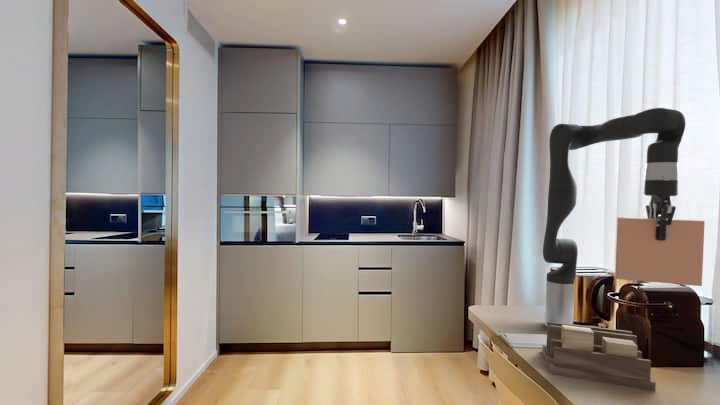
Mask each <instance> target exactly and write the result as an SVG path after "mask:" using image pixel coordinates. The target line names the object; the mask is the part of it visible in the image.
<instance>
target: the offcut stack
mask: <svg viewBox="0 0 720 405" xmlns="http://www.w3.org/2000/svg"><path fill="white" fill-rule="evenodd" d="M593 345H594V332H593V331H592V330H591V329H590V328H585V327H577V326H568V325H562V339H561V348H568V349H575V350H582V351H590V352H593ZM637 351H638V344H637V345H636V344H635V343H634V342H633V341H631V340H623V339H615V338H607V337H602V353H604V354H611V355H618V356H625V357H633V358H637Z"/></svg>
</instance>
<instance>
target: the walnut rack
mask: <svg viewBox="0 0 720 405" xmlns="http://www.w3.org/2000/svg"><path fill="white" fill-rule="evenodd" d="M562 325H568V326H577V327H585V328H590V329H591V330H592V331H593V332H594V345H593V352H590V351H582V350H575V349H568V348H561V339H562ZM546 335H547V346H545V345H542V349H541V352H542V355H543V357H544V360H545V363H546V366H547V369H548V368H549V369H548V371H550V372H549V374H550V373H553V374H552V375H556V374H559V375H558V376H562V375H563V376H564V377H571V378H575V379H581V380H589V381H595V382H601V383H608V384H615V385H619V386H626V387H631V388H637V389H644V390H649V391H656V386H657V385H656V384H657V383H656V381H655V380H654V379H653V378H652V377H651V374H652V373H651V370H652V360H650V359H647V358H646V359H645V358H643V355H642V354H643V352H642V351H640V350H637V358H633V357H625V356H618V355H611V354H604V353H602V337H607V338H615V339H623V340H631V341H633V342H634V343H635V344H636V345H637V346H638V336H637V335H634V334H633V331H630V330H623V329H614V328H607V327H600V326H599V327H597V326H591V325H581V324H575V323H573V324H566V323H558V322H549V321H547V327H546Z"/></svg>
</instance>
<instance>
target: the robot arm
mask: <svg viewBox="0 0 720 405" xmlns="http://www.w3.org/2000/svg"><path fill="white" fill-rule="evenodd" d="M685 130H686V118H685V114H683V113H682V112H681V111H679V110H676V109H671V108H665V107H653V108H650V109H646V110H643V111H641V112H640V111H639V112H637V113H635V114H631V115H625V116H619V117H615V118H612V119H609V120H607V121H604V122H603V123H600V124H594V125H578V124H572V123H559V124H556V125H555V126H554V127H553V128H552V129H551V132H550V135H549V142H548V143H549V183H548V192H547V193H548V194H547V215H546V225H545V232H544V238H543V245H542V255H543V259H544V262H545V263H549V264H558V265H559V264H561V266H560V267H559V268H558V269H554V270H552V271H549V272H547V274H546V282H545V283H546V284H545V286H546V287H545V310H544V312H545V314H544V315H545V316H544V326H545V327H546V328H547V321H549V322H558V323H566V324H574V306H575V304H574V300H575V279H576V274H577V262H578V261H577V260H578V245H577V242H576V241H575V240H574V239H570V238H557V236H558V234H559V231H560V227H561V226H562V224H563V223H564V222H565V220H566V219H567V218H568V217H569V215H570V214H571V212H573V210H574V209H575V207H576V204H577V196H578V195H577V194H578V186H577V185H578V184H577V182H576V179H575V177H574V174H573V172H572V169H571V168H570V162H569V154H570V151H575V150H578V149H582V148H584V147H585V148H586V147H588V146H591V145H595V144H599V143H604V142H613V141H620V140H621V141H622V140H628V139H629V140H630V139H636V138H640V137H641V136H643V135H648V134H657V135H656V139H655V142H652V143H650V144H649V145H648V146H647V148H646V165H645V171H644V188H643V189H644V190H643V191H644V192H643V194H644V195H645V196H649V197H650V202H649V204H648V205H647V204H646V206H645V209H646V210H645V211H646V216H647V218H649V219H656V237H655V239H656V240H663V241H664V240H666V227H668V225H671V222H672V219H673V218H674V215H675V212H676V206H675V205H672V201H671V197H677V196H678V194H679V172H680V171H679V147H680V144H681V142H682V139H683V136H684V132H685ZM663 220H664V221H663Z"/></svg>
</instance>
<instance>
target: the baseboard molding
mask: <svg viewBox="0 0 720 405" xmlns="http://www.w3.org/2000/svg"><path fill="white" fill-rule="evenodd" d="M498 331H499V333H498V336H499V337H500V338H501V339H502V340H503V341H504V342H505V343H506V344H507V345H508V346H509V347H510V348H511V349H541V350H542V345H545V346H547V334H541V333H540V334H535V333H510V332H509V333H507V332H506V333H505V332H503V333H502V332H501V331H500V330H498Z"/></svg>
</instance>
